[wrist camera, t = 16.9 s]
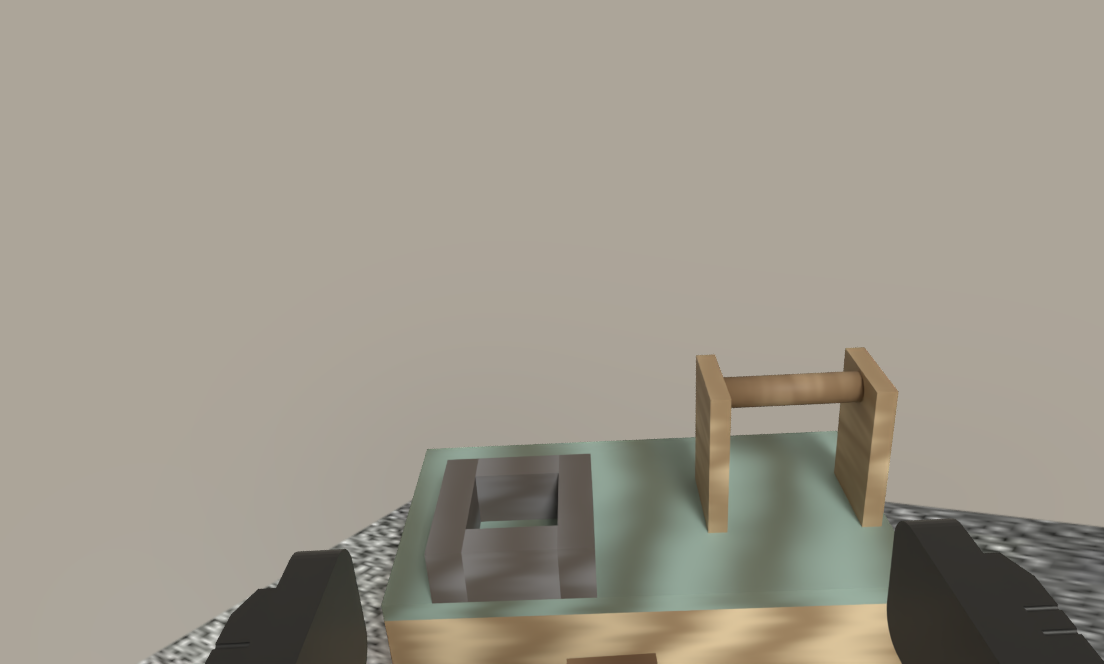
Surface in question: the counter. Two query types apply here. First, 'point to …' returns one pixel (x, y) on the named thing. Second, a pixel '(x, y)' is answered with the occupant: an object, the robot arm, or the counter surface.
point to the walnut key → (617, 659)
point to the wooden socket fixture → (660, 539)
